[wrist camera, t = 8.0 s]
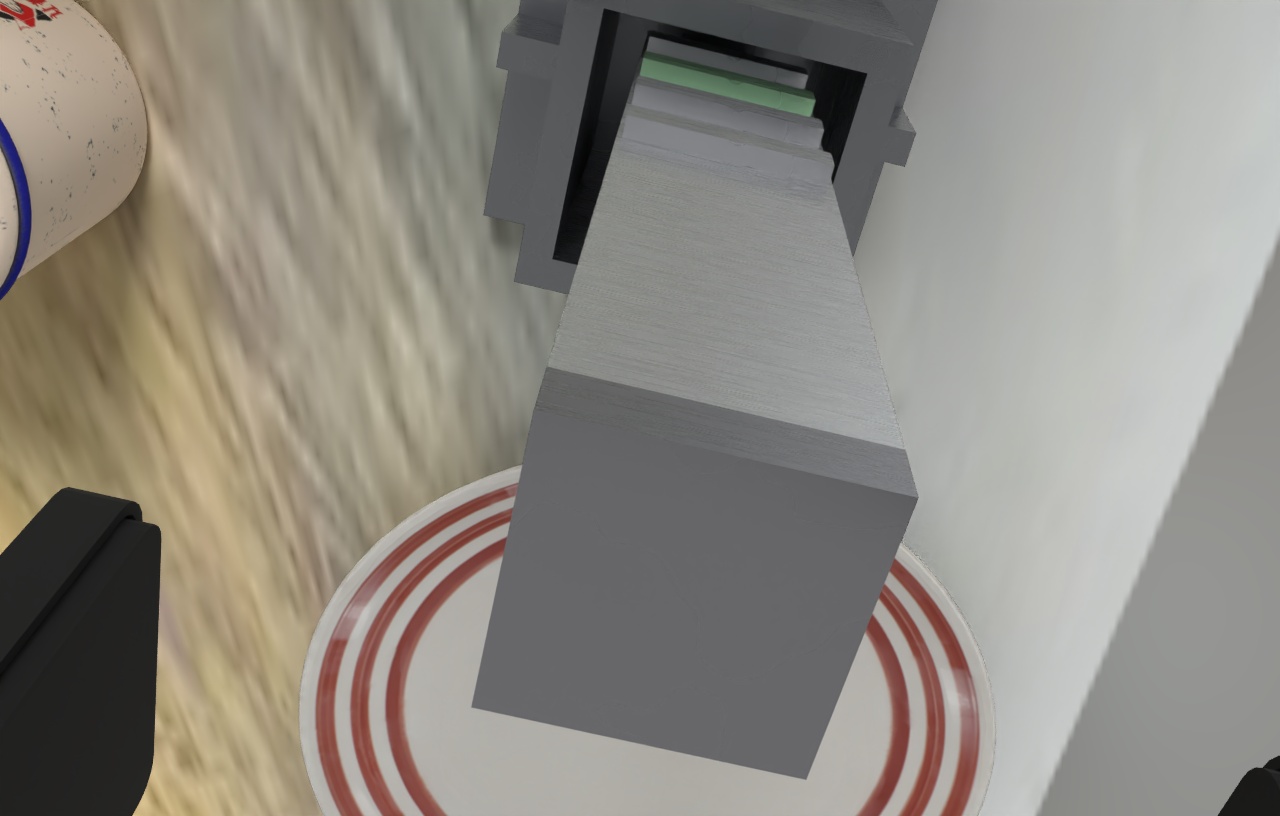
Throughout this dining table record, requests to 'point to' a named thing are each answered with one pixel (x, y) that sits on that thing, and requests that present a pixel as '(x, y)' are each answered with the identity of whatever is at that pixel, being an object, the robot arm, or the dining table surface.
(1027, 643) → the dining table surface
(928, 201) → the dining table surface
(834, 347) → the column
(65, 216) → the teacup with lid
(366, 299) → the dining table surface
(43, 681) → the robot arm
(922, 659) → the dinner plate
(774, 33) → the stand base
